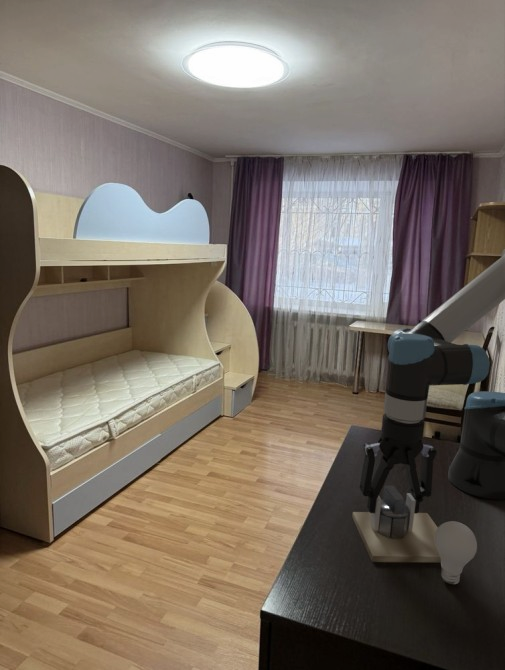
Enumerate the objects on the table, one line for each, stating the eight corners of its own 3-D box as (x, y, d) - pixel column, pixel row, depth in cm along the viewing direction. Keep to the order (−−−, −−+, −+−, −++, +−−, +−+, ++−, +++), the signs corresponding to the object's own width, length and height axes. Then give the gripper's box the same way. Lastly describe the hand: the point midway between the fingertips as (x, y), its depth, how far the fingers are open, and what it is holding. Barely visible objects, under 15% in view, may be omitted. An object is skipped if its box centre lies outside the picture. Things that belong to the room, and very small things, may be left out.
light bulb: (474, 599, 77) (484, 539, 75) (432, 592, 78) (440, 533, 76) (465, 572, 83) (474, 516, 81) (426, 565, 85) (433, 510, 82)
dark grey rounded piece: (411, 537, 90) (415, 499, 89) (381, 538, 90) (385, 500, 88) (398, 520, 96) (402, 484, 95) (370, 520, 96) (373, 485, 94)
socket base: (426, 518, 100) (429, 499, 99) (458, 562, 86) (461, 541, 85) (352, 517, 99) (354, 498, 98) (372, 561, 85) (374, 540, 84)
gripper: (443, 410, 92) (429, 516, 97) (348, 408, 91) (338, 515, 96) (462, 425, 85) (446, 538, 90) (359, 422, 84) (348, 538, 88)
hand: (390, 526), depth 93 cm, fingers closed on dark grey rounded piece, 6 cm apart
